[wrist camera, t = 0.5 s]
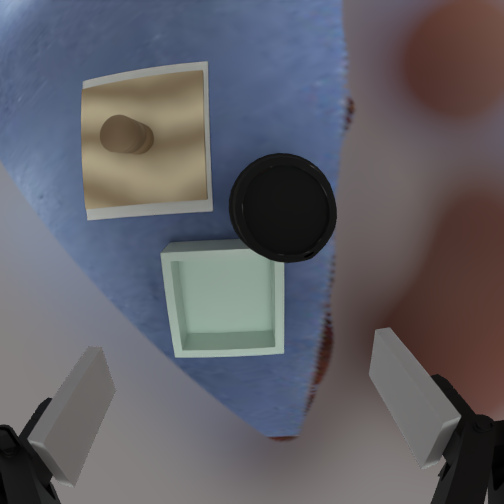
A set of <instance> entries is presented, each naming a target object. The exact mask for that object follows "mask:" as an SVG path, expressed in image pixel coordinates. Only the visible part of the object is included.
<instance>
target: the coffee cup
mask: <svg viewBox="0 0 504 504" xmlns="http://www.w3.org/2000/svg"><path fill="white" fill-rule="evenodd" d="M229 214H230V219H231V223H232V225H233V228H234V230H235V232H236V233H237V235H238V236H239V238H240V239H241V240H242V242H243V243H244V244H246V245H247V246H248V247H249V248H250V249H251V250H253V251H254V252H256V253H257V254H259V255H261V256H263V257H265V258H267V259H269V260H272V261H276V262H282V263H292V262H300V261H305V260H308V259H311V258H312V257H314V256H315V255H316V254H317V253H318V252H319V251H320V250H321V249H322V248H323V247H324V246H325V245H326V243H327V242H328V241H329V239H330V238H331V236H332V234H333V231H334V229H335V225H336V219H337V208H336V203H335V198H334V194H333V191H332V188H331V186H330V183H329V182H328V180H327V178H326V177H325V175H324V174H323V173H322V172H321V171H320V169H319V168H318V167H317V166H315V165H314V164H313V163H311V162H310V161H308V160H306V159H304V158H302V157H300V156H297V155H293V154H286V153H277V154H270V155H266V156H264V157H261V158H259V159H257V160H255V161H254V162H252V163H251V164H249V165H248V166H247V167H246V168H245V169H244V170H243V171H242V172H241V173H240V175H239V176H238V178H237V179H236V181H235V183H234V185H233V188H232V190H231V194H230V199H229Z"/></svg>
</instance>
